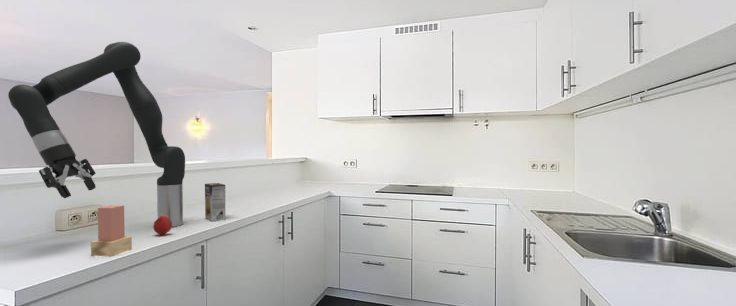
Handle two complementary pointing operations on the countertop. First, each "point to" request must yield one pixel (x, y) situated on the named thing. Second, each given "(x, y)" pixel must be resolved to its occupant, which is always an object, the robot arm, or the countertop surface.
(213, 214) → the coffee box
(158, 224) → the onion
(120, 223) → the red pillar block
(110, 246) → the oak base block
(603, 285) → the countertop surface
